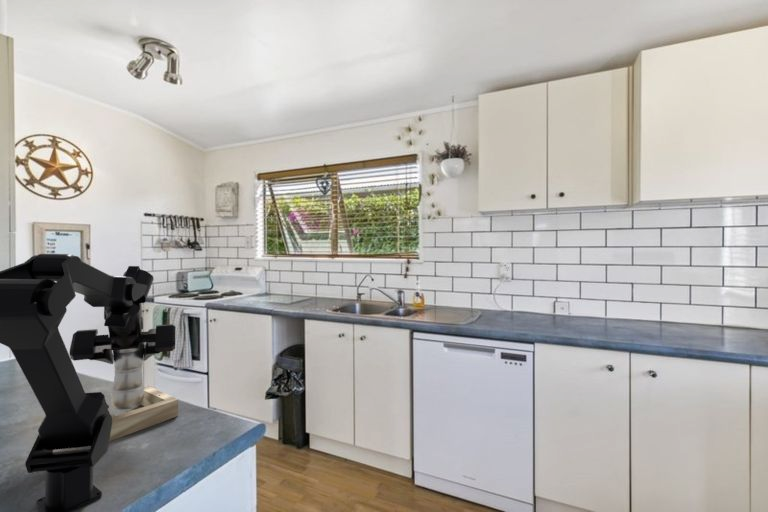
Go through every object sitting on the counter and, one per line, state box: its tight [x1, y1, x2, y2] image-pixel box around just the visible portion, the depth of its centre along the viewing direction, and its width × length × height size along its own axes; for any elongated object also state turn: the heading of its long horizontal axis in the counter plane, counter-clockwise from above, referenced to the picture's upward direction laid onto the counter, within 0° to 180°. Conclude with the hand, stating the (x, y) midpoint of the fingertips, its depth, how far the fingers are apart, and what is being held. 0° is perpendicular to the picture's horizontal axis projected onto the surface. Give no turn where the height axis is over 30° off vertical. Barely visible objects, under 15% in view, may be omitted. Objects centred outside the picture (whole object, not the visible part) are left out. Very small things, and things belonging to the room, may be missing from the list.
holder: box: [109, 385, 179, 442], centre depth 84 cm, size 14×14×4 cm
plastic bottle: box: [110, 342, 146, 411], centre depth 84 cm, size 6×7×20 cm
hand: (129, 360), depth 85 cm, fingers closed on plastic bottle, 6 cm apart
